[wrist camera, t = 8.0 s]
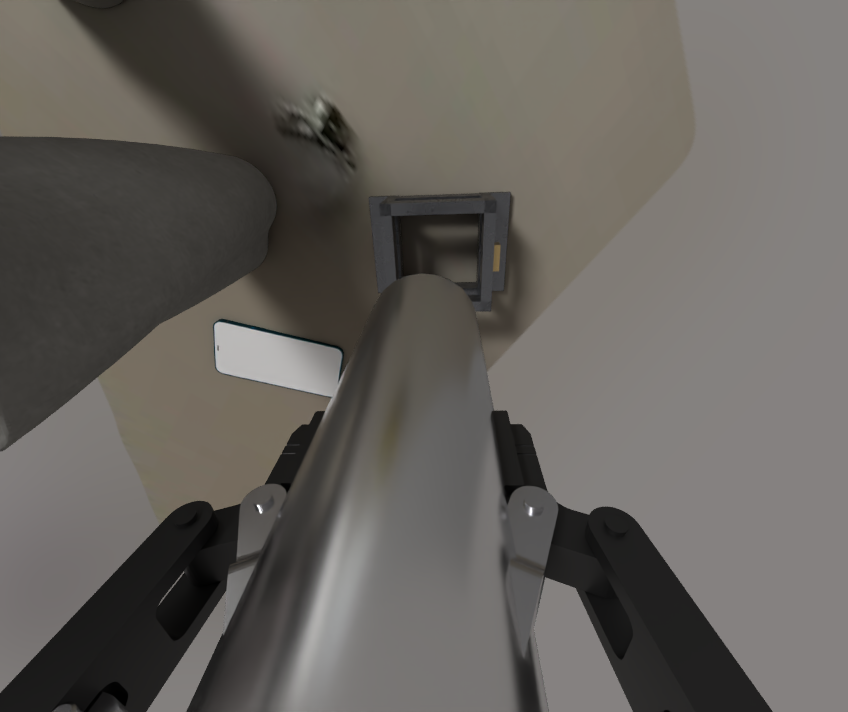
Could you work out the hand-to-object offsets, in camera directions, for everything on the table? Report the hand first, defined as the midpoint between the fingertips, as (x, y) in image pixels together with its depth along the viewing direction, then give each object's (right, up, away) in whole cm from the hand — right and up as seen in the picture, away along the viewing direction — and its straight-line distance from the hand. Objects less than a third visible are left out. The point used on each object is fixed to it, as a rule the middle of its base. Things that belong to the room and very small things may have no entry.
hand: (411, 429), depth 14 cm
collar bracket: (+2, +15, +25) cm, 29 cm away
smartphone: (-18, +3, +34) cm, 39 cm away
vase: (-19, +18, +25) cm, 36 cm away
